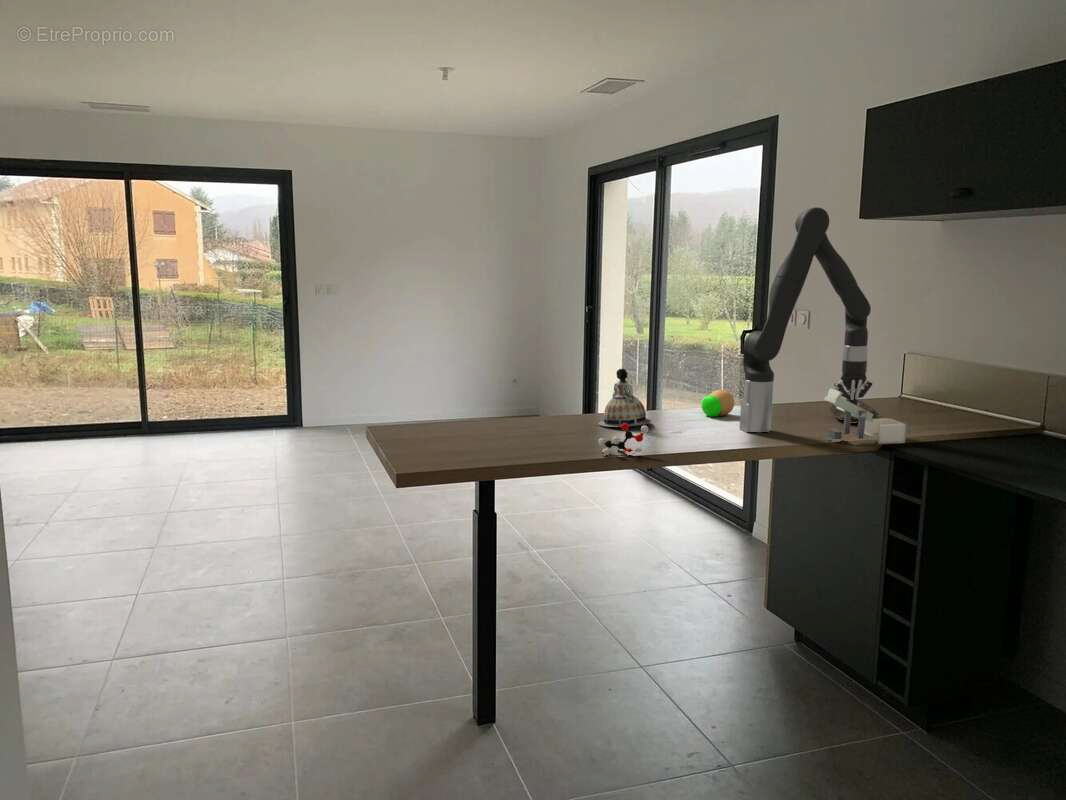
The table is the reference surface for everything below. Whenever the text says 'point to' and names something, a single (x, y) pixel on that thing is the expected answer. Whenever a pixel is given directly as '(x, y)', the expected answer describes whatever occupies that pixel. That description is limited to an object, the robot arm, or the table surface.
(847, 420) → the fulcrum
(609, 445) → the molecular model
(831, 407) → the turtle shell
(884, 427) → the white open box
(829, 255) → the robot arm
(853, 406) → the lever
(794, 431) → the table surface
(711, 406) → the green and tan spheres
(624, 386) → the figurine
